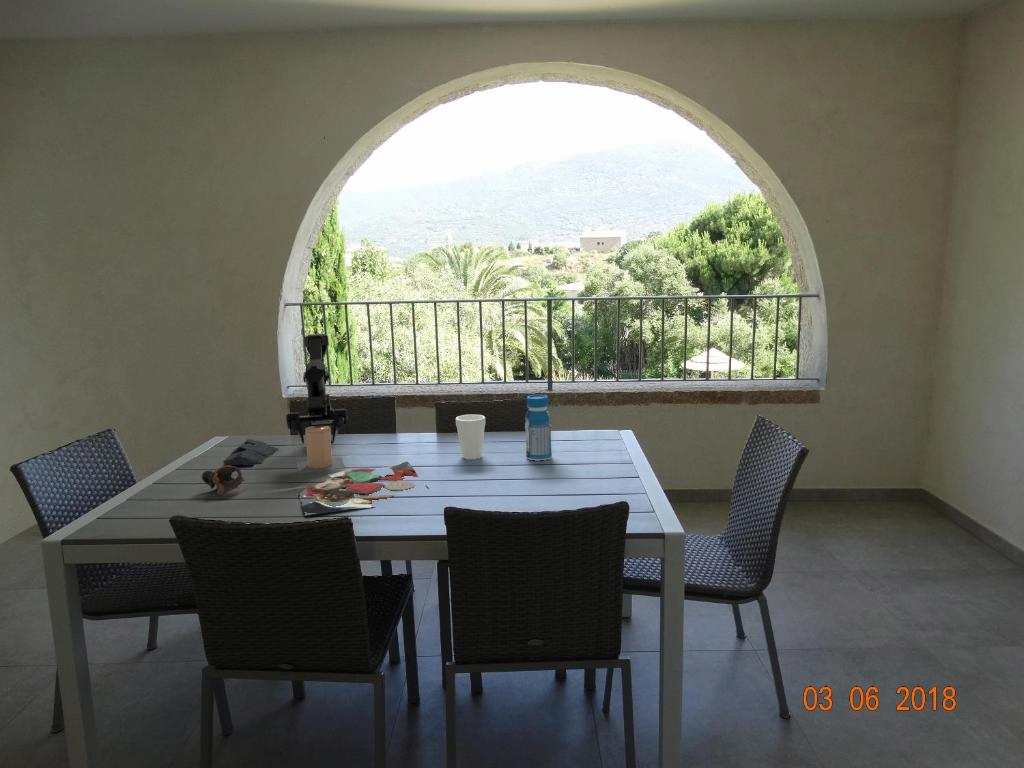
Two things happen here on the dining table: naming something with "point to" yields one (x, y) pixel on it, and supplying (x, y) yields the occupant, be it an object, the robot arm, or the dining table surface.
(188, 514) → the dining table surface
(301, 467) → the charcoal mat
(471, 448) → the foam cup
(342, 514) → the dining table surface
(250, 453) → the dark slate chunk
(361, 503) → the colorful flat pile
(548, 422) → the beverage bottle
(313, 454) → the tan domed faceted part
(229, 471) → the brown rounded piece
